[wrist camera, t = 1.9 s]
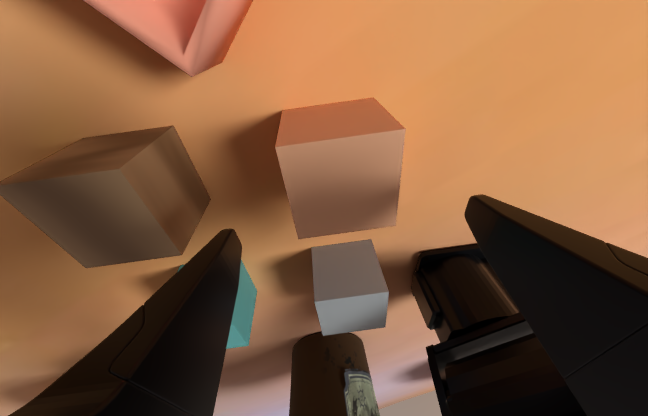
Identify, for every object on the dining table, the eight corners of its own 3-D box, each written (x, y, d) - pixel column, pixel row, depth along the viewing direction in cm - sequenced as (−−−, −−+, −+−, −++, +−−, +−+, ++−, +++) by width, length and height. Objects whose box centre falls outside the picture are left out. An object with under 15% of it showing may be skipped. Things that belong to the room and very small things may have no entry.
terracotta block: (373, 97, 13) (405, 128, 9) (371, 176, 16) (395, 225, 12) (282, 109, 13) (275, 147, 9) (298, 186, 16) (298, 239, 12)
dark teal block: (240, 256, 20) (225, 314, 16) (257, 290, 23) (248, 345, 19) (180, 264, 20) (151, 324, 16) (205, 297, 23) (186, 354, 19)
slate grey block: (371, 238, 20) (388, 291, 16) (370, 274, 23) (385, 327, 19) (311, 246, 20) (314, 301, 16) (318, 282, 23) (322, 335, 19)
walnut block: (174, 125, 13) (119, 169, 9) (211, 198, 16) (181, 255, 12) (84, 137, 13) (-10, 186, 9) (138, 208, 16) (85, 268, 12)
